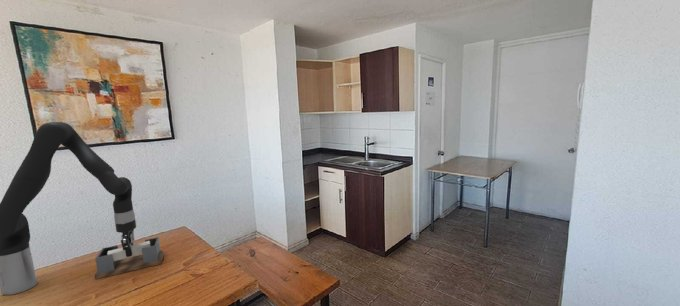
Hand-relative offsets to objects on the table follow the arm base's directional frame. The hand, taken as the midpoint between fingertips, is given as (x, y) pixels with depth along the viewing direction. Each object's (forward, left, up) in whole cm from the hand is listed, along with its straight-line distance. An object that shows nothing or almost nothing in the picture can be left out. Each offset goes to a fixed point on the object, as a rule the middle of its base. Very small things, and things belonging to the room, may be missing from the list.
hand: (130, 253), depth 131 cm
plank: (0, 0, -6) cm, 6 cm away
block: (0, 0, -1) cm, 1 cm away
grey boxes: (0, 0, -4) cm, 4 cm away
